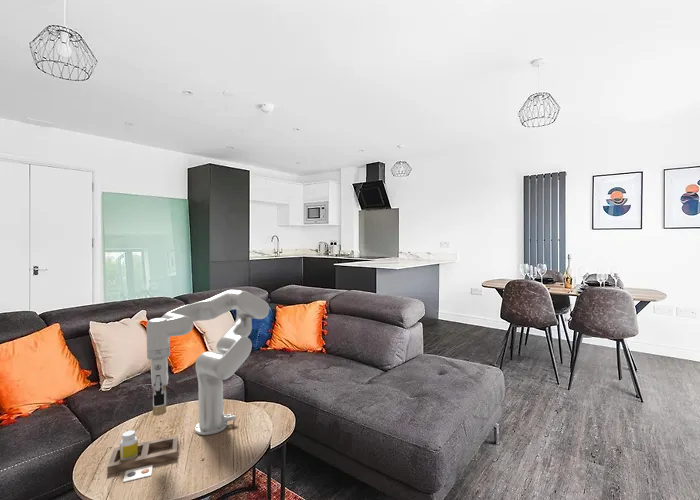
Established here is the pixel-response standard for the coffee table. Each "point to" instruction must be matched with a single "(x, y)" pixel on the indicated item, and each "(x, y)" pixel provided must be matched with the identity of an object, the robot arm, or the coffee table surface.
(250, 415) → the coffee table surface
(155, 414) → the sprinkles bottle
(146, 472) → the card
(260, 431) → the coffee table surface
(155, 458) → the bottle rack
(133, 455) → the supplement bottle
